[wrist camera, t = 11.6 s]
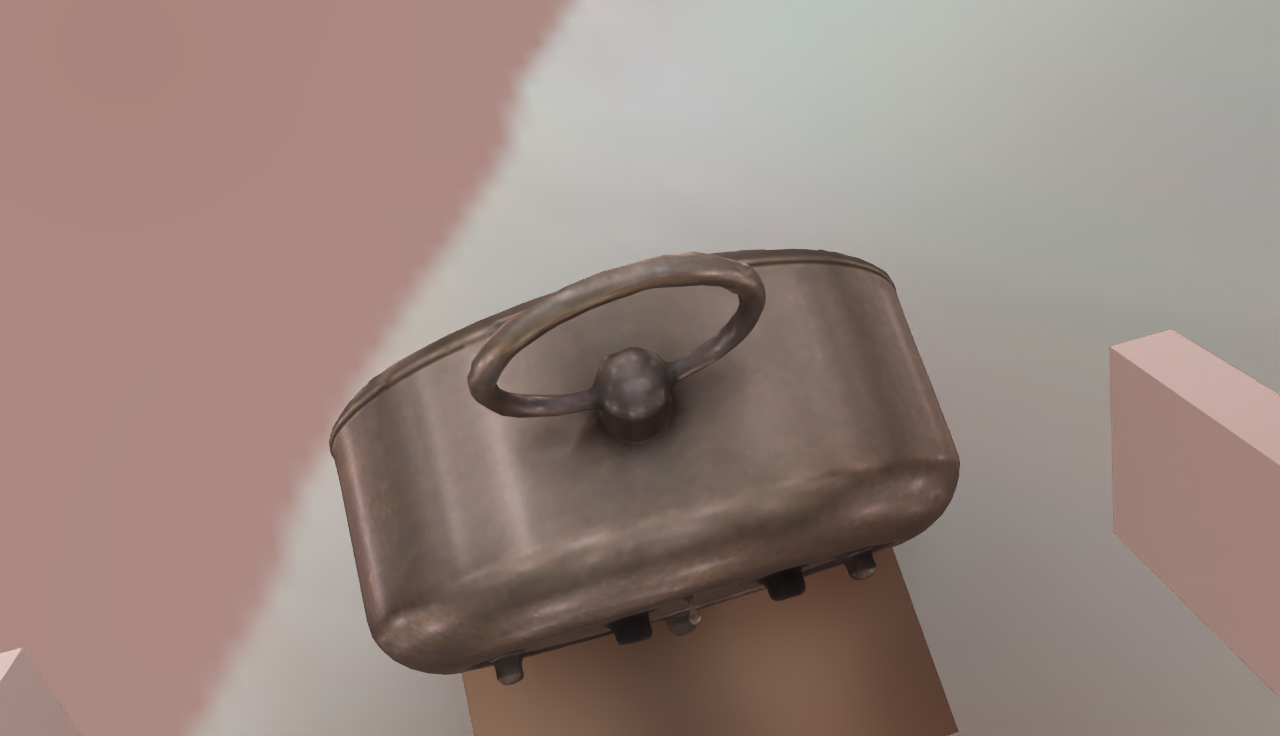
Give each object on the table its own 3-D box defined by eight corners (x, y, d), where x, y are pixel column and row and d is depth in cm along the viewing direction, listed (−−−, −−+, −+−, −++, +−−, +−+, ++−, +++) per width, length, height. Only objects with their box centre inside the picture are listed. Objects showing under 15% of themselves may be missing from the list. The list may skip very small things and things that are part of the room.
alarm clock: (838, 386, 25) (1035, -84, 10) (912, 589, 24) (1286, 393, 8) (433, 503, 25) (3, 202, 10) (478, 717, 23) (39, 758, 8)
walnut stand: (780, 345, 32) (794, 278, 26) (912, 725, 28) (958, 731, 23) (453, 438, 31) (403, 388, 26) (539, 835, 27) (500, 866, 22)
